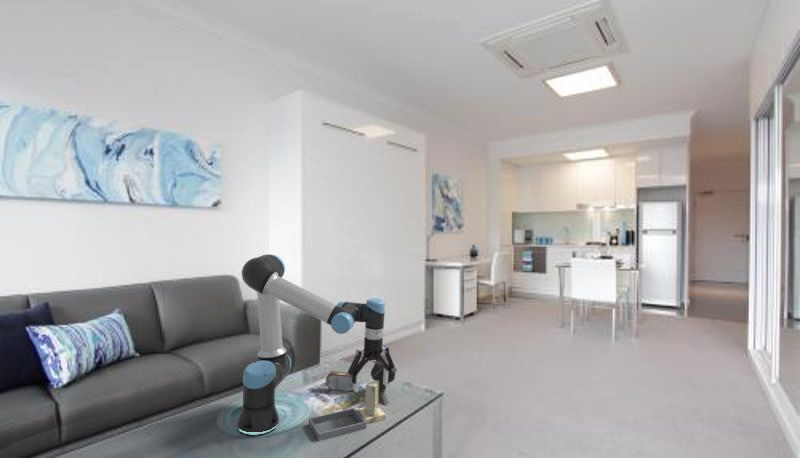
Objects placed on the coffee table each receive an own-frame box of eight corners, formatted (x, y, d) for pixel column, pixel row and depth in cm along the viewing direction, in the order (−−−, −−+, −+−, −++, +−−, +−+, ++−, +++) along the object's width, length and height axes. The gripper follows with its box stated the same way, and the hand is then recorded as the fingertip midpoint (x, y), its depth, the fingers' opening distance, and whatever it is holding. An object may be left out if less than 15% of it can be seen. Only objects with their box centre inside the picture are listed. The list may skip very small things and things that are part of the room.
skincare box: (374, 416, 164) (375, 387, 163) (364, 414, 165) (365, 385, 164) (378, 408, 170) (379, 380, 170) (368, 407, 171) (369, 379, 171)
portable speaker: (358, 390, 191) (358, 372, 190) (356, 393, 188) (357, 375, 187) (326, 387, 192) (327, 370, 192) (324, 390, 189) (325, 372, 189)
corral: (318, 440, 149) (318, 434, 149) (308, 424, 160) (308, 418, 160) (366, 428, 159) (366, 422, 159) (353, 413, 170) (353, 407, 169)
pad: (365, 424, 162) (365, 419, 162) (356, 413, 169) (356, 409, 169) (385, 419, 166) (385, 414, 166) (375, 409, 174) (375, 404, 174)
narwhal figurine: (403, 392, 191) (405, 354, 189) (385, 405, 177) (387, 365, 176) (378, 384, 198) (379, 348, 197) (359, 396, 185) (360, 357, 184)
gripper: (348, 343, 156) (345, 397, 158) (404, 336, 169) (401, 386, 170) (341, 337, 163) (338, 389, 164) (395, 331, 175) (392, 379, 177)
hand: (370, 387), depth 167 cm, fingers open, 13 cm apart
